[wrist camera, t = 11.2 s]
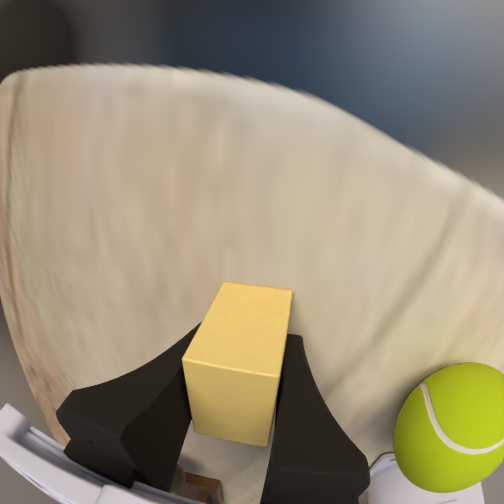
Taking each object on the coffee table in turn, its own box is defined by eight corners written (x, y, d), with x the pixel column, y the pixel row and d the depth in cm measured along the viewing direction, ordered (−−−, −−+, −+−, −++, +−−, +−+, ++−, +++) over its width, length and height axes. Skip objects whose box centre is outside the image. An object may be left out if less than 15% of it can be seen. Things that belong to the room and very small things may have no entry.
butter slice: (293, 289, 13) (279, 376, 8) (282, 364, 14) (267, 447, 10) (224, 280, 13) (181, 358, 9) (224, 355, 15) (194, 433, 10)
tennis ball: (399, 341, 13) (429, 468, 6) (508, 328, 11) (561, 421, 5) (376, 422, 15) (381, 520, 9) (469, 408, 14) (492, 491, 8)
